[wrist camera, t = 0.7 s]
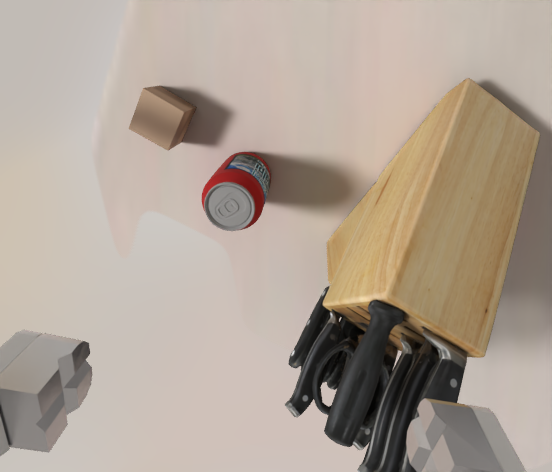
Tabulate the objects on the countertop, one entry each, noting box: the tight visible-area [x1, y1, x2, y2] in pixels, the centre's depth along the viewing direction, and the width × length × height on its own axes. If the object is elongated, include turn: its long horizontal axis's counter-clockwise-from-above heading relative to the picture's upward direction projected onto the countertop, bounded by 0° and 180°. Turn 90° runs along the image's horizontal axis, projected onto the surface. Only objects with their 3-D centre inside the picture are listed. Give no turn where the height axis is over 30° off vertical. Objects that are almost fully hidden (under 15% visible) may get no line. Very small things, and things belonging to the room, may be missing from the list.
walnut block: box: [129, 86, 196, 150], centre depth 43 cm, size 5×5×5 cm
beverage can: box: [202, 152, 271, 231], centre depth 43 cm, size 7×7×12 cm
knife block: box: [285, 78, 540, 472], centre depth 35 cm, size 11×35×31 cm, turn 147°
